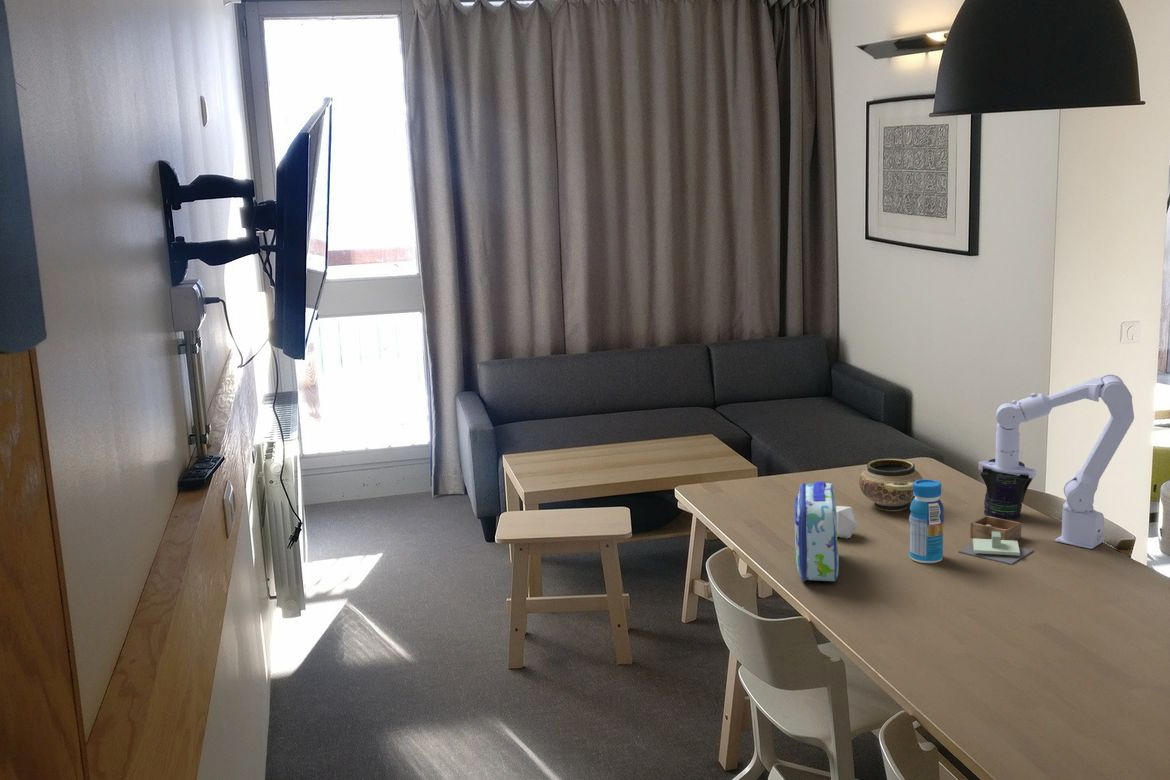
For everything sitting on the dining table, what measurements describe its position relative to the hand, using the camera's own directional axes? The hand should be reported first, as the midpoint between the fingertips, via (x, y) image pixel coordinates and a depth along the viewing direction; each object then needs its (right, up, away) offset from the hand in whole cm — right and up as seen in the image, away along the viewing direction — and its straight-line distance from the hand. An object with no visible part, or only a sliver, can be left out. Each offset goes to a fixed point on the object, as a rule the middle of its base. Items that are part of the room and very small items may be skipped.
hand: (1006, 499), depth 283 cm
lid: (-6, -12, -8) cm, 15 cm away
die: (-41, -11, +9) cm, 44 cm away
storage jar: (+6, -6, +19) cm, 21 cm away
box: (-2, -10, +2) cm, 11 cm away
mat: (-6, -13, -8) cm, 16 cm away
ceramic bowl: (-21, -5, +31) cm, 38 cm away
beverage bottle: (-24, -14, -10) cm, 30 cm away
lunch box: (-53, -16, -13) cm, 57 cm away
